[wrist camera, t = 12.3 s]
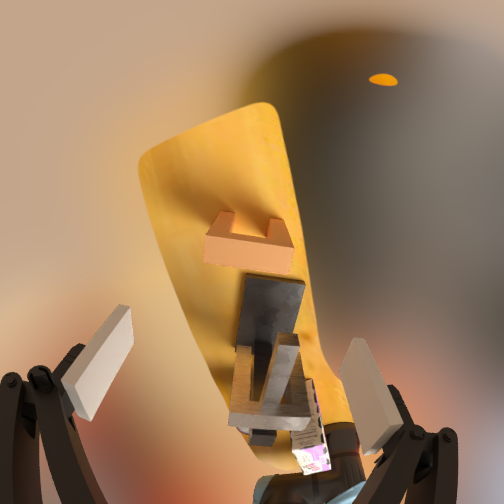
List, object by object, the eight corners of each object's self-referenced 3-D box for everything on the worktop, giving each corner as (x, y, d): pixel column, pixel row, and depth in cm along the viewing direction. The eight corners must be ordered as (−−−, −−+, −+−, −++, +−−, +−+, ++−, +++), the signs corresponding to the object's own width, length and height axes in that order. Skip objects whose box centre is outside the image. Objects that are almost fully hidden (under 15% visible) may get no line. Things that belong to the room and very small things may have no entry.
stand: (284, 353, 47) (294, 446, 28) (235, 348, 47) (225, 442, 28) (306, 272, 41) (338, 362, 22) (248, 264, 41) (240, 354, 22)
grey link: (294, 366, 38) (303, 430, 27) (235, 359, 38) (228, 425, 26) (299, 351, 37) (311, 417, 26) (237, 344, 37) (230, 412, 25)
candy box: (321, 412, 54) (331, 470, 38) (296, 418, 54) (302, 476, 39) (313, 377, 49) (326, 444, 34) (284, 384, 50) (290, 451, 34)
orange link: (280, 240, 40) (288, 275, 28) (218, 231, 39) (202, 262, 28) (283, 220, 38) (294, 248, 27) (220, 210, 38) (205, 235, 27)
